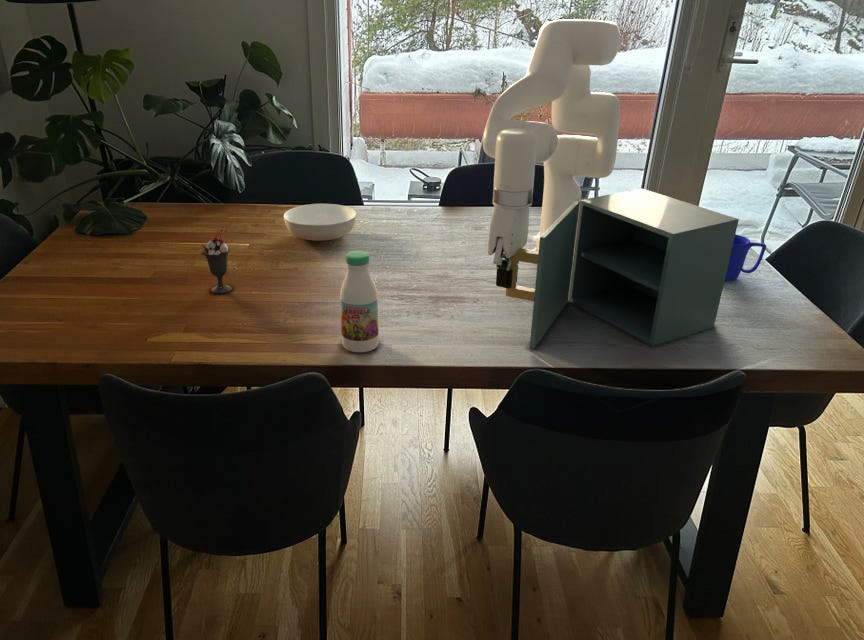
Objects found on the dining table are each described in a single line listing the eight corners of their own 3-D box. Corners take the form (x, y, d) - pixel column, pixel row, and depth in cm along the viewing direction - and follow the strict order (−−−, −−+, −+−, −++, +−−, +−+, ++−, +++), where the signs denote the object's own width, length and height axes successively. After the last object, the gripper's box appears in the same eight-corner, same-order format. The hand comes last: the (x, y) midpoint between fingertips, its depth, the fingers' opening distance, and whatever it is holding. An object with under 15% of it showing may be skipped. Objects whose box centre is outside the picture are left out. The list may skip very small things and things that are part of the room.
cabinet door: (497, 340, 150) (504, 231, 139) (534, 295, 170) (543, 197, 159) (534, 348, 147) (545, 237, 135) (568, 301, 167) (579, 201, 155)
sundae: (240, 286, 178) (233, 228, 171) (224, 296, 173) (216, 237, 165) (218, 282, 180) (210, 225, 173) (202, 292, 175) (193, 233, 168)
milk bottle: (341, 337, 153) (337, 248, 143) (377, 335, 153) (375, 246, 144) (342, 354, 146) (338, 262, 137) (380, 352, 147) (378, 260, 137)
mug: (761, 285, 173) (771, 246, 169) (708, 282, 176) (717, 243, 171) (753, 273, 180) (762, 235, 176) (702, 270, 183) (710, 232, 178)
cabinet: (652, 346, 147) (673, 234, 136) (568, 301, 167) (580, 199, 156) (714, 327, 154) (738, 219, 143) (626, 286, 175) (641, 188, 163)
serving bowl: (355, 248, 201) (354, 224, 197) (280, 249, 201) (278, 225, 198) (358, 224, 219) (358, 202, 216) (290, 225, 219) (288, 203, 216)
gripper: (510, 183, 146) (504, 268, 155) (477, 204, 134) (472, 294, 143) (546, 188, 143) (537, 275, 152) (514, 210, 131) (507, 302, 140)
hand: (506, 283), depth 147 cm, fingers closed on cabinet door, 2 cm apart
